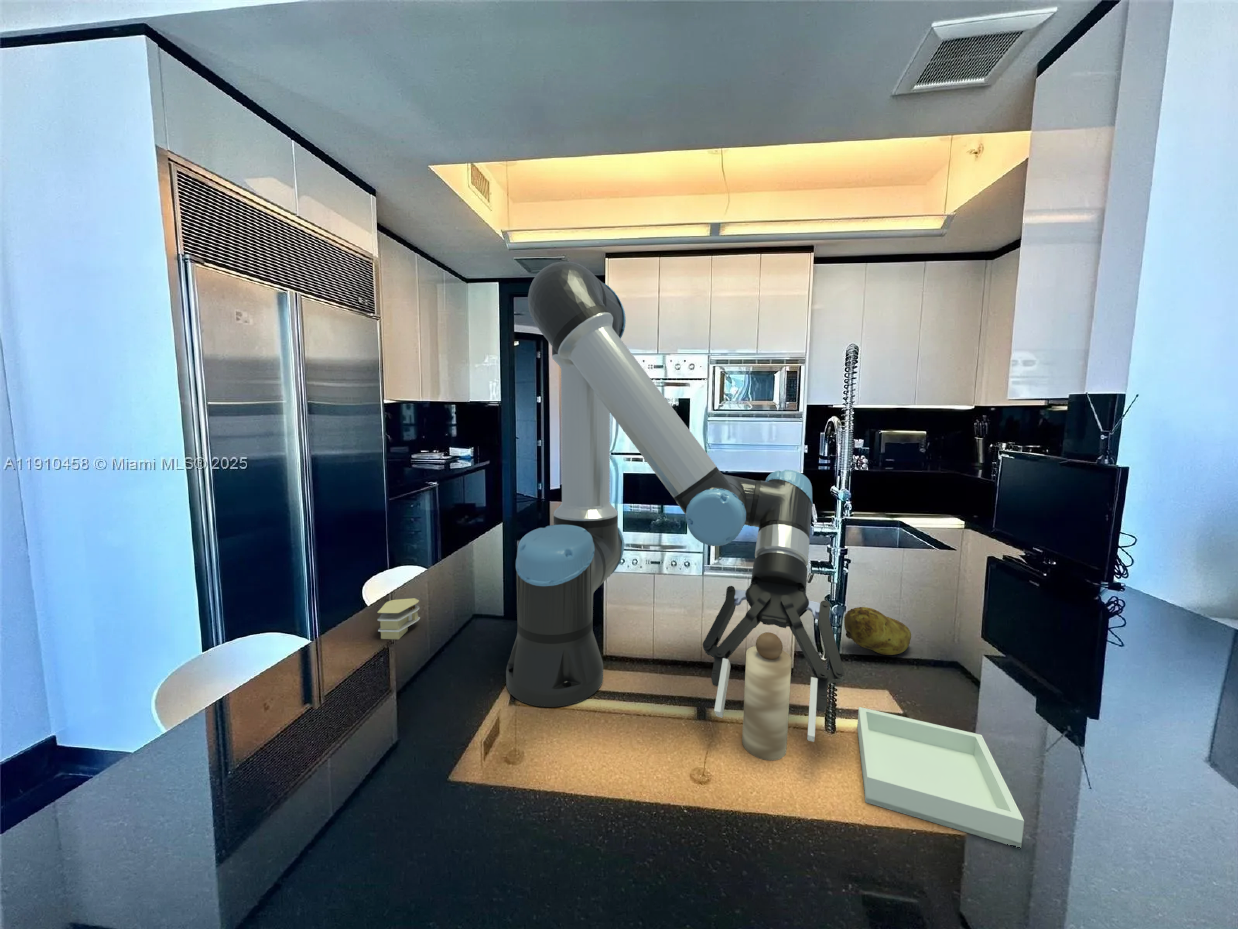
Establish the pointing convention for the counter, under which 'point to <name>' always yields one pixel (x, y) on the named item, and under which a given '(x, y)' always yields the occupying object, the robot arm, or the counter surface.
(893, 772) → the bin
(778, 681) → the pepper mill
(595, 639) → the robot arm
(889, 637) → the potato
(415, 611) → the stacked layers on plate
